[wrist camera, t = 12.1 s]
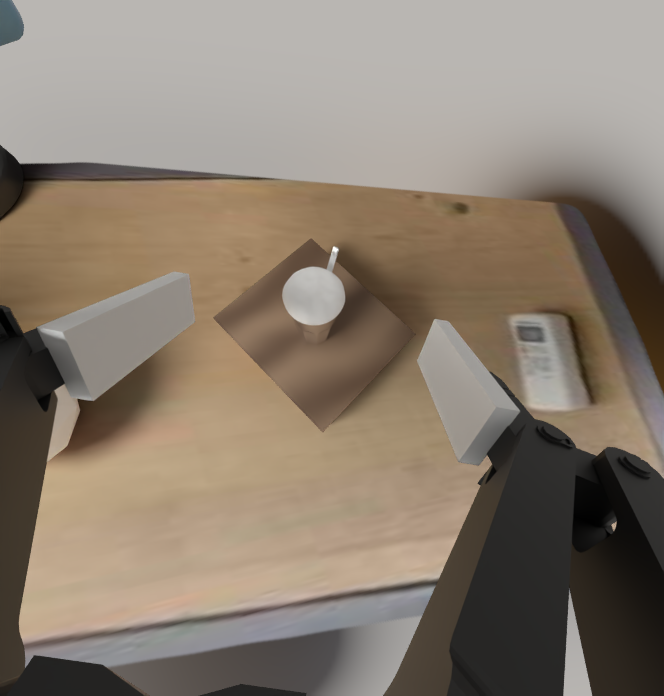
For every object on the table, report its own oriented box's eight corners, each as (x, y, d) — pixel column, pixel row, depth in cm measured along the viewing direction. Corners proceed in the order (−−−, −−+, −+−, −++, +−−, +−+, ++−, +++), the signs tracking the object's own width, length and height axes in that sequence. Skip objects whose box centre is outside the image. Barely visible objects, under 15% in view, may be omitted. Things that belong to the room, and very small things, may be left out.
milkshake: (348, 316, 27) (365, 262, 17) (322, 358, 25) (326, 326, 16) (311, 295, 27) (308, 231, 17) (284, 336, 26) (265, 292, 16)
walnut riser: (229, 332, 31) (212, 317, 26) (311, 262, 34) (311, 238, 29) (321, 428, 29) (322, 432, 24) (400, 345, 32) (415, 333, 27)
